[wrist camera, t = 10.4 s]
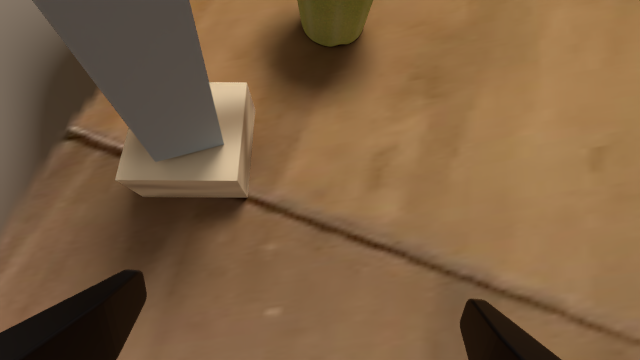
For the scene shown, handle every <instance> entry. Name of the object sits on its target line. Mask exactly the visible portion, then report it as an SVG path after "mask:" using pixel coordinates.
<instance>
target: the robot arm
mask: <svg viewBox="0 0 640 360" xmlns="http://www.w3.org/2000/svg"><path fill="white" fill-rule="evenodd" d="M146 297H147V292H146V287H145V282H144V276H143V273H142V272H141V271H139V270H123V271H121V272H119V273H117V274H115V275H113V276H111V277H109V278H108V279H106V280H104V281H102V282H100V283H98V284H96V285H94V286H92V287H90V288H88V289H86V290H84V291H82V292H80V293H78V294H76V295H74V296H72V297H70V298H68V299H66V300H64V301H62V302H60V303H58V304H56V305H54V306H52V307H50V308H48V309H46V310H44V311H42V312H40V313H38V314H36V315H34V316H32V317H30V318H28V319H27V320H25V321H23V322H21V323H19V324H17V325H15V326H13V327H11V328H9V329H7V330H5V331H3V332H1V333H0V360H116V359H117V357H118V356H119V354H120V352H121V350H122V348H123V346H124V344H125V342H126V340H127V338H128V336H129V334H130V332H131V330H132V328H133V326H134V324H135V322H136V320H137V318H138V316H139V314H140V312H141V310H142V308H143V305H144V303H145V301H146ZM460 329H461V333H462V337H463V341H464V345H465V348H466V352H467V356H468V359H469V360H561V359H560V358H559V357H557V356H556V355H555V354H554V353H552V352H551V351H550V350H548V349H547V348H546V347H545V346H543V345H542V344H541V343H539V342H538V341H537V340H536V339H534V338H533V337H532V336H530V335H529V334H528V333H527V332H525V331H524V330H523V329H521V328H520V327H519V326H518V325H516V324H515V323H514V322H512V321H511V320H510V319H509V318H507V317H506V316H505V315H503V314H502V313H501V312H500V311H498V310H497V309H496V308H494V307H493V306H492V305H491V304H489V303H488V302H487V301H485V300H482V299H469V300H468V301H467V302H466V305H465V308H464V311H463V314H462V317H461V320H460Z"/></svg>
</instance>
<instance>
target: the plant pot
mask: <svg viewBox="0 0 640 360" xmlns="http://www.w3.org/2000/svg"><path fill="white" fill-rule="evenodd" d="M297 1H298V6H299V12H300V17H301V23H302V26H303V29H304V32H305V33H306V35H307V36H308V37H309V38H310V39H311V40H313V41H314V42H316V43H318V44H321V45H324V46H330V47H332V46H335V45H339V44H349V43H351V42H353V41H354V40H356V39H357V38H358V37H359V35H360V34H361V32H362V30H363V27H364V24H365V22H366V19H367V16H368V13H369V10H370V7H371V5H372V2H373V0H297Z"/></svg>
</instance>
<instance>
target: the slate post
mask: <svg viewBox="0 0 640 360" xmlns="http://www.w3.org/2000/svg"><path fill="white" fill-rule="evenodd" d="M32 1H33V2H34V3H35V5H36V6H37V7H38V9H39V10H40V11H41V12H42V14H43V15H44V16H45V18H46V19H47V20H48V22H49V23H50V24H51V26H52V27H53V28H54V30H55V31H56V32H57V34H58V35H59V36H60V37H61V39H62V40H63V41H64V43H65V44H66V45H67V47H68V48H69V49H70V51H71V52H72V53H73V54H74V56H75V57H76V58H77V60H78V61H79V62H80V64H81V65H82V66H83V68H84V69H85V70H86V72H87V73H88V74H89V76H90V77H91V78H92V80H93V81H94V82H95V83H96V85H97V86H98V87H99V89H100V90H101V91H102V93H103V94H104V95H105V97H106V98H107V99H108V101H109V102H110V103H111V104H112V106H113V107H114V108H115V110H116V111H117V112H118V114H119V115H120V116H121V118H122V119H123V120H124V122H125V123H126V124H127V126H128V127H129V128H130V129H131V131H132V132H133V133H134V135H135V136H136V137H137V139H138V140H139V141H140V143H141V144H142V145H143V147H144V148H145V149H146V150H147V152H148V153H149V154H150V156H151V157H152V158H153V160H154V161H155V162H158V161H162V160H165V159H169V158H173V157H177V156H181V155H185V154H189V153H193V152H197V151H201V150H205V149H209V148H213V147H217V146H220V145H224V142H223V138H222V134H221V130H220V125H219V121H218V117H217V113H216V109H215V105H214V101H213V97H212V92H211V88H210V84H209V80H208V76H207V72H206V68H205V64H204V59H203V55H202V51H201V47H200V43H199V39H198V35H197V31H196V26H195V22H194V18H193V14H192V10H191V6H190V2H189V0H32Z"/></svg>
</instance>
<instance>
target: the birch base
mask: <svg viewBox="0 0 640 360" xmlns="http://www.w3.org/2000/svg"><path fill="white" fill-rule="evenodd" d="M209 84H210V88H211V92H212V97H213V101H214V105H215V109H216V113H217V117H218V121H219V125H220V130H221V134H222V138H223V142H224V145H220V146H217V147H213V148H209V149H205V150H201V151H197V152H193V153H189V154H185V155H181V156H177V157H173V158H169V159H165V160H162V161H158V162H155V161H154V160H153V158H152V157H151V156H150V154H149V153H148V152H147V150H146V149H145V148H144V147H143V145H142V144H141V143H140V141H139V140H138V139H137V137H136V136H135V135H134V133H133V132H132V131H131V129H130V128H128V132H127V136H126V140H125V144H124V148H123V152H122V155H121V159H120V163H119V167H118V171H117V175H116V179H115V180H116V181H118V182H119V183H121V184H122V185H124V186H126V187H127V188H129V189H131V190H132V191H134V192H136V193H137V194H139V195H141V196H142V197H235V198H248V188H249V177H250V165H251V153H252V142H253V130H254V118H255V108H254V104H253V101H252V98H251V94H250V91H249V88H248V84H247V83H235V82H209Z"/></svg>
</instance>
